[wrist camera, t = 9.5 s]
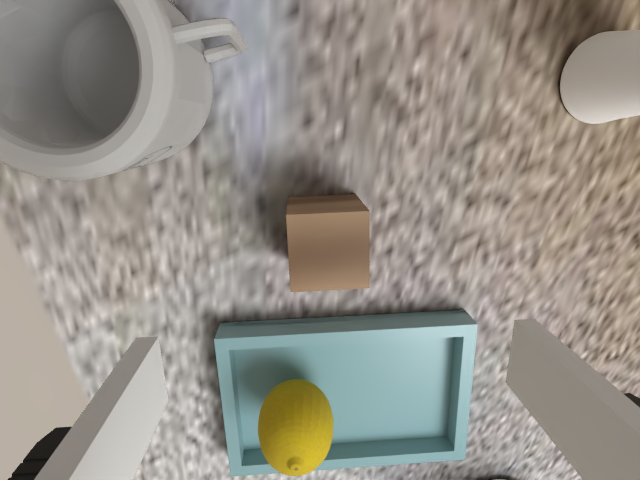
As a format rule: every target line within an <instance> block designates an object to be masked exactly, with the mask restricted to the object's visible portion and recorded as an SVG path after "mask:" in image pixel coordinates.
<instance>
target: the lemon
mask: <svg viewBox="0 0 640 480" xmlns="http://www.w3.org/2000/svg"><path fill="white" fill-rule="evenodd" d="M258 436H259V442H260V447H261V450H262V453H263V455H264V457H265V459H266V460H267V462H268V463H269V464H270V465H271V466H272V467H273V468H274V469H275V470H277V471H279V472H280V473H282V474H285V475H290V476H300V475H304V474H308V473H309V472H311V471H313V470H315V469H316V468H317V467H318V466H319V465H320V464H321V463H322V462H323V460H324V459H325V458H326V456H327V454H328V452H329V449H330V446H331V443H332V438H333V414H332V411H331V407H330V404H329V401H328V399H327V398H326V396H325V394H324V393H323V391H322V390H321V389H320V388H318V387H317V386H316V385H315V384H313V383H311V382H309V381H306V380H302V379H291V380H287V381H284V382H282V383H280V384H278V385H277V386H276V387H274V388H273V389H272V390H271V391H270V393H269V394H268V395H267V396H266V398H265V400H264V402H263V405H262V407H261V409H260V413H259V420H258Z"/></svg>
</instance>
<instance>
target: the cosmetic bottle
mask: <svg viewBox="0 0 640 480" xmlns="http://www.w3.org/2000/svg"><path fill="white" fill-rule="evenodd" d="M560 93H561V98H562V102H563V104H564V106H565V108H566V109H567V111H568V112H569V113H570V114H571V115H572V116H573V117H574V118H576V119H577V120H579V121H582V122H585V123H590V124H598V123H604V122H608V121H612V120H616V119H621V118H626V117H632V116H637V115H640V29H639V30H627V31H608V32H602V33H599V34H596V35H593V36H591V37H590V38H588V39H586V40H585V41H583V42H582V43H581V44H580V45H579V46H578V47H577V48H576V49H575V50H574V51H573V52H572V54H571V55H570V57H569V58H568V60H567V62H566V64H565V66H564V68H563V71H562V75H561V80H560Z"/></svg>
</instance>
